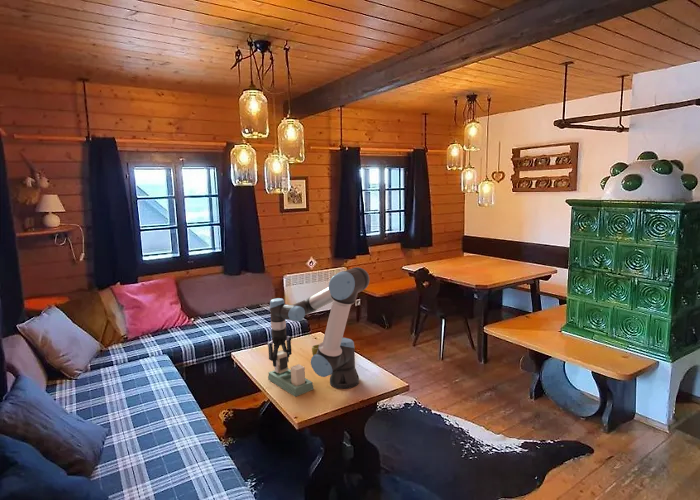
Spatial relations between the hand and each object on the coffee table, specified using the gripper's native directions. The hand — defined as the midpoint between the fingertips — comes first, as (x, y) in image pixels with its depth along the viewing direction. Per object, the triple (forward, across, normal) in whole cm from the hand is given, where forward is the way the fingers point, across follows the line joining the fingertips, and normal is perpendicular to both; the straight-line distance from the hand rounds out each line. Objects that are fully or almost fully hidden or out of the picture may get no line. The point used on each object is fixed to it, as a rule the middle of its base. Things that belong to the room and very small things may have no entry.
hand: (281, 370), depth 231 cm
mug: (+5, -32, -8) cm, 33 cm away
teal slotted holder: (+5, 0, +8) cm, 10 cm away
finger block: (0, 0, 0) cm, 0 cm away
